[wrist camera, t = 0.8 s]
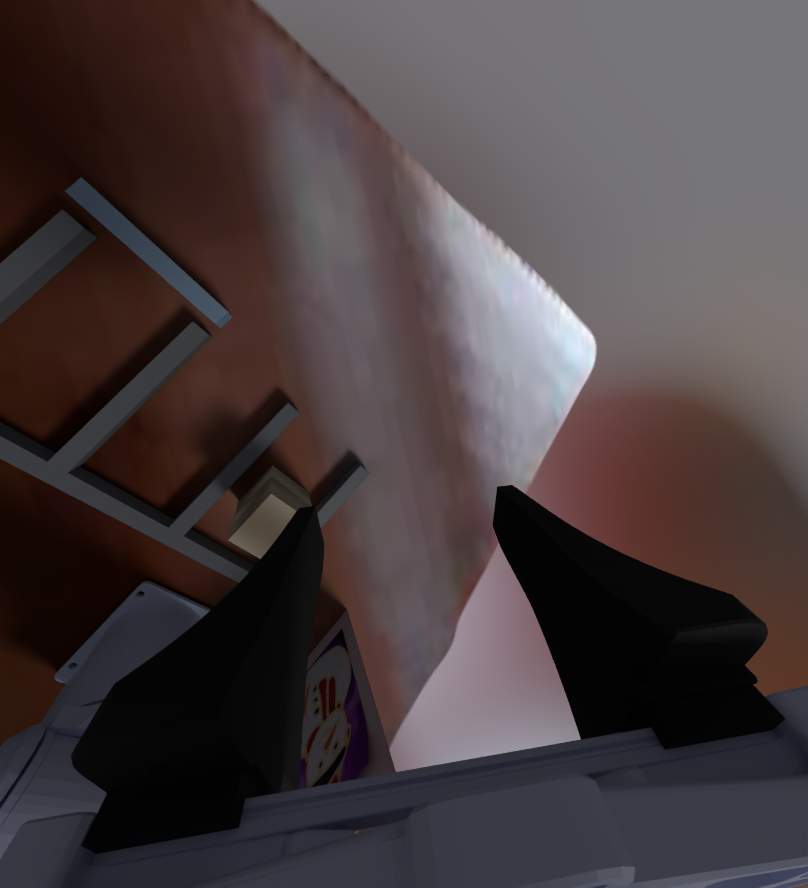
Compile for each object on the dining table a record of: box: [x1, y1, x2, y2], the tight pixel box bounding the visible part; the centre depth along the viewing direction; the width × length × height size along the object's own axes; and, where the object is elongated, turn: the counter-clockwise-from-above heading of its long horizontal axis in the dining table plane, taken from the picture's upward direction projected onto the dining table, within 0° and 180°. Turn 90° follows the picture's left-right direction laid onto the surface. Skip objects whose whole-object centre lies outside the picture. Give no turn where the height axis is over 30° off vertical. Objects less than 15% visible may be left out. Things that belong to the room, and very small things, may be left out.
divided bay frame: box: [0, 177, 370, 583], centre depth 23 cm, size 16×26×2 cm, turn 44°
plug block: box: [228, 465, 312, 559], centre depth 25 cm, size 4×4×7 cm
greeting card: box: [299, 610, 396, 833], centre depth 27 cm, size 11×7×15 cm, turn 136°
